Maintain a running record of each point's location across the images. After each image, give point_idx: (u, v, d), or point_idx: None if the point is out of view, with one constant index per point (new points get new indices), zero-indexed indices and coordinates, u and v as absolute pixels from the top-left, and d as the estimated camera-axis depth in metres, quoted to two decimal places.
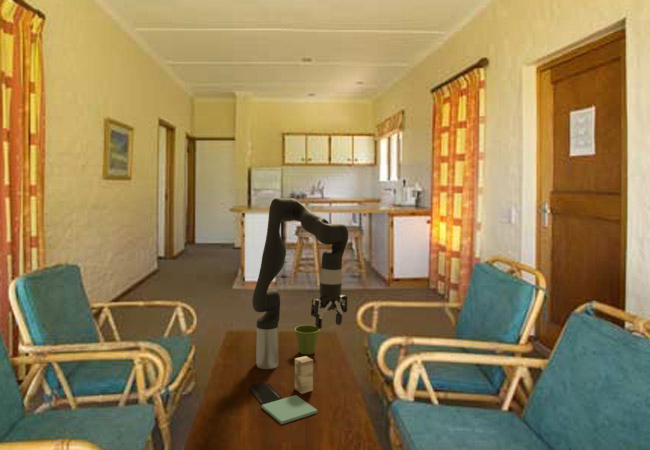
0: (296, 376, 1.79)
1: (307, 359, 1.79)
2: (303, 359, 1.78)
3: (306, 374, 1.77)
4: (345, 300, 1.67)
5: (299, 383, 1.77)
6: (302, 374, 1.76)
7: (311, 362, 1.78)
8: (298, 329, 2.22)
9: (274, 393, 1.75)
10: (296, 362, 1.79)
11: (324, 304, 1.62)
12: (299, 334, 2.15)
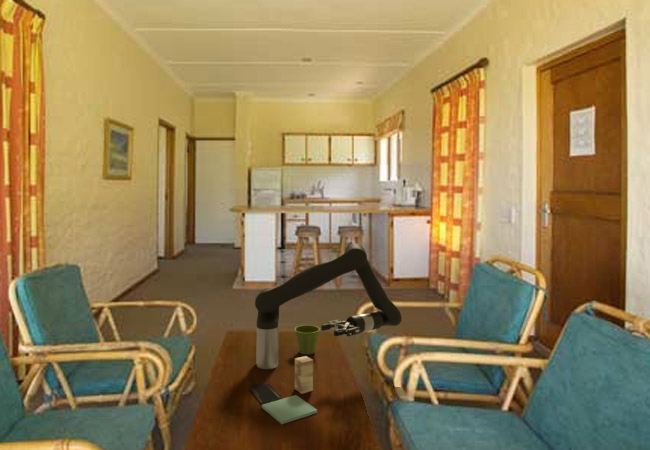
0: (296, 376, 1.79)
1: (307, 359, 1.79)
2: (303, 359, 1.78)
3: (306, 374, 1.77)
4: None
5: (299, 383, 1.77)
6: (302, 374, 1.76)
7: (311, 362, 1.78)
8: (298, 329, 2.22)
9: (274, 393, 1.75)
10: (296, 362, 1.79)
11: (350, 331, 1.87)
12: (299, 334, 2.15)
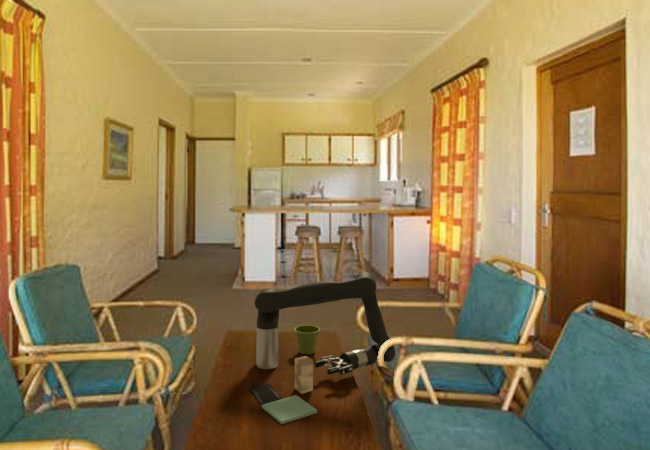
0: (296, 376, 1.79)
1: (307, 359, 1.79)
2: (303, 359, 1.78)
3: (306, 374, 1.77)
4: None
5: (299, 383, 1.77)
6: (302, 374, 1.76)
7: (311, 362, 1.78)
8: (298, 329, 2.22)
9: (274, 393, 1.75)
10: (296, 362, 1.79)
11: None
12: (299, 334, 2.15)
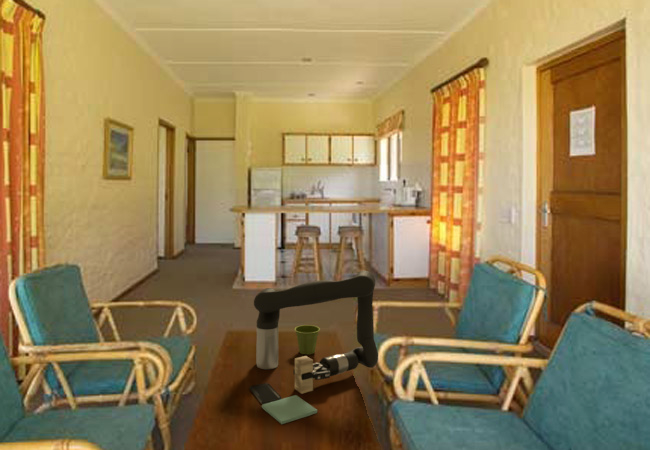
0: (296, 376, 1.79)
1: (307, 359, 1.79)
2: (303, 359, 1.78)
3: None
4: None
5: (299, 383, 1.77)
6: None
7: (311, 362, 1.78)
8: (298, 329, 2.22)
9: (274, 393, 1.75)
10: (296, 362, 1.79)
11: (321, 374, 1.81)
12: (299, 334, 2.15)
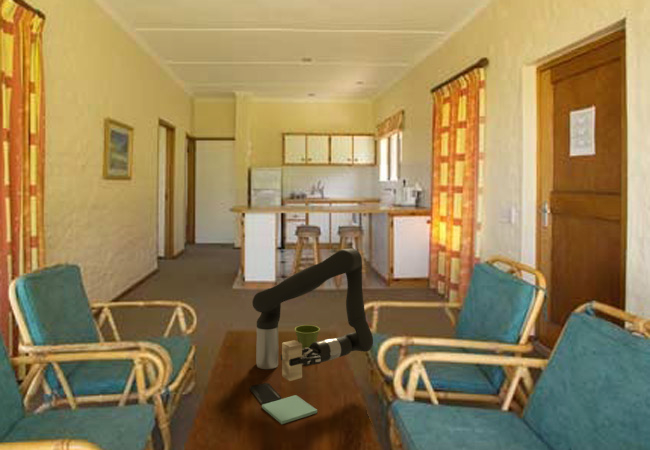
0: (284, 362, 1.63)
1: (296, 343, 1.62)
2: (291, 343, 1.62)
3: None
4: None
5: (287, 369, 1.61)
6: None
7: (300, 346, 1.62)
8: (298, 329, 2.22)
9: (274, 393, 1.75)
10: (283, 346, 1.62)
11: None
12: (299, 334, 2.15)
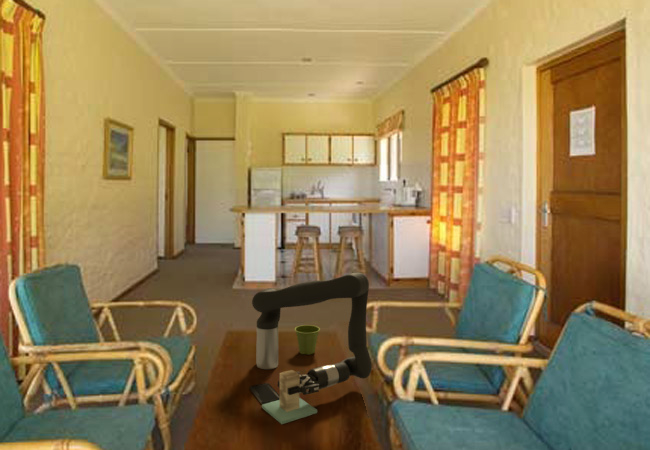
0: (281, 393, 1.62)
1: (293, 374, 1.62)
2: (289, 374, 1.62)
3: None
4: None
5: (284, 400, 1.61)
6: (287, 390, 1.60)
7: (297, 377, 1.62)
8: (298, 329, 2.22)
9: (274, 393, 1.75)
10: (281, 377, 1.62)
11: (309, 388, 1.64)
12: (299, 334, 2.15)
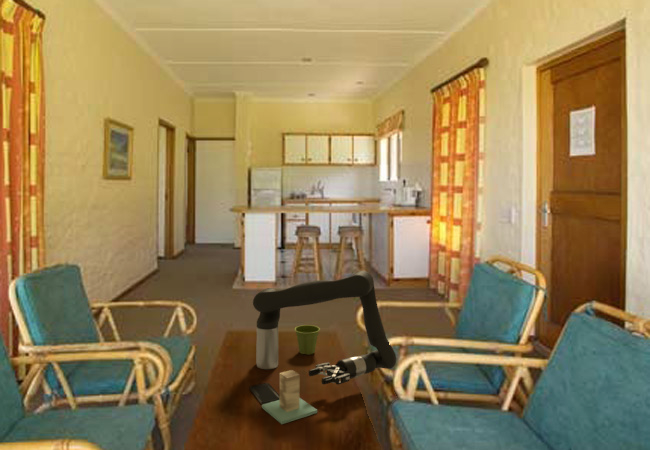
0: (281, 393, 1.62)
1: (293, 374, 1.62)
2: (289, 374, 1.62)
3: (292, 391, 1.61)
4: None
5: (284, 400, 1.61)
6: (287, 390, 1.60)
7: (297, 377, 1.62)
8: (298, 329, 2.22)
9: (274, 393, 1.75)
10: (281, 377, 1.62)
11: None
12: (299, 334, 2.15)
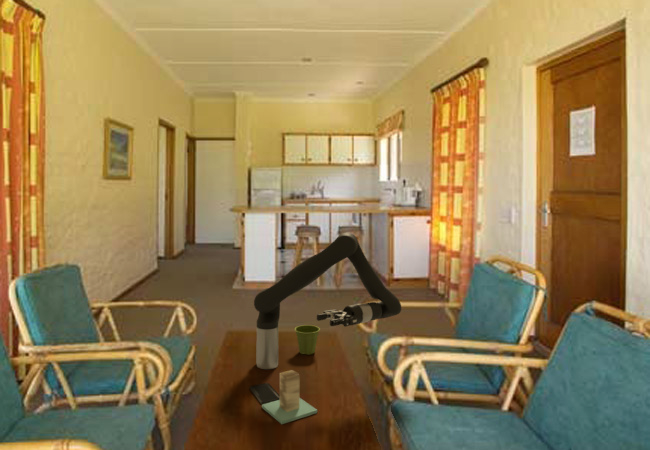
0: (281, 393, 1.62)
1: (293, 374, 1.62)
2: (289, 374, 1.62)
3: (292, 391, 1.61)
4: None
5: (284, 400, 1.61)
6: (287, 390, 1.60)
7: (297, 377, 1.62)
8: (298, 329, 2.22)
9: (274, 393, 1.75)
10: (281, 377, 1.62)
11: (347, 321, 1.77)
12: (299, 334, 2.15)
